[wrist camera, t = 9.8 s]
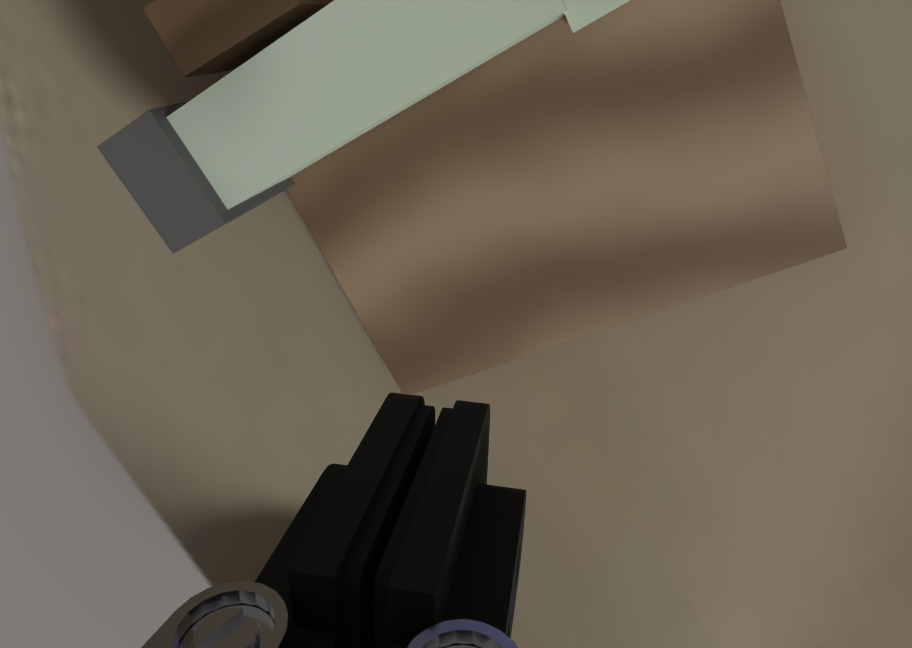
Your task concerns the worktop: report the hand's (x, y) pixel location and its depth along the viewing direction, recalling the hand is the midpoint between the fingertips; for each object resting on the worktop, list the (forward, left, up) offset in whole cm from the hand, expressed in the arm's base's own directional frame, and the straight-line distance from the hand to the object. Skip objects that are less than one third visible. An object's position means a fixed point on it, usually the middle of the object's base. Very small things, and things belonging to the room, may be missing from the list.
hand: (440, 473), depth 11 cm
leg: (+7, +1, -13) cm, 15 cm away
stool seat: (+3, -1, -15) cm, 15 cm away
